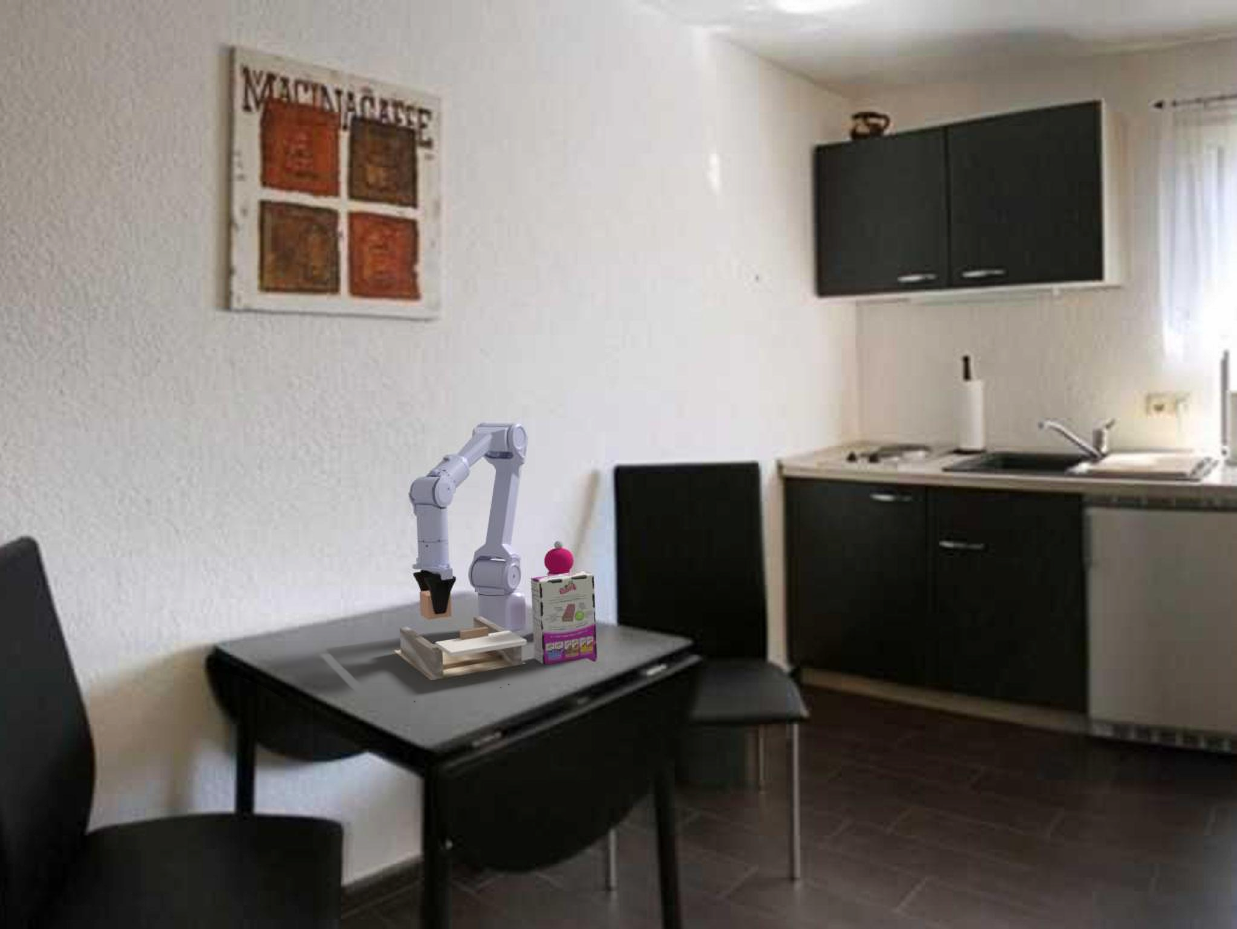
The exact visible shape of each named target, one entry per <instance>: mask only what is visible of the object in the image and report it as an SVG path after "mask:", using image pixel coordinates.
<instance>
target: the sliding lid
mask: <svg viewBox="0 0 1237 929" xmlns="http://www.w3.org/2000/svg"><path fill="white" fill-rule="evenodd" d="M435 644H436V647H437V648H439V649H440V650H442V651H443V652H445V653H446V654H448V655H449V656H450V657H455V656H461V655H467V654H473V653H479V652H485V651H492V650H498V649H504V648H510V647H516V646H522V647H523V646H526V645H528V641H527V639H525V638H524V637H522V636H520V635H518V634H516V633H514V632H513V631H503V632H496V633H490V634H489V633H488V628H487V627H481V628H474V627H473V628H469V629H468V628H467V629H462V630H461V629H460V630H459V638H454V639H446V640H440V641H435Z"/></svg>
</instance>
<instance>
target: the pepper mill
mask: <svg viewBox="0 0 1237 929" xmlns="http://www.w3.org/2000/svg"><path fill="white" fill-rule="evenodd" d="M553 546H554V548H552V549H550V550H548V551H547V552H546V554H545V556H544V558H543V559H544V560H543V561H544V562H543V563H544V567H545V568H546V569H547V570H548V572H547V573H546V576H550V575H557V574H564V573H572V571H571V569H572V568H573V566H574V563H575V562H574V561H575V560H574V556H573V554H572V552H571V551H570V550H569V549H567V548H563V546H564V544H563V542H562V541H560V540H556V541H555V542H554V544H553Z"/></svg>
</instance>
